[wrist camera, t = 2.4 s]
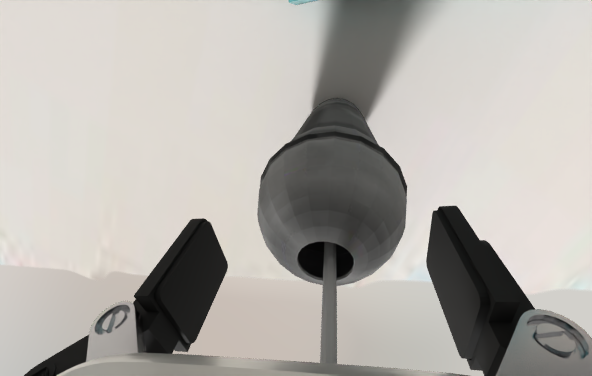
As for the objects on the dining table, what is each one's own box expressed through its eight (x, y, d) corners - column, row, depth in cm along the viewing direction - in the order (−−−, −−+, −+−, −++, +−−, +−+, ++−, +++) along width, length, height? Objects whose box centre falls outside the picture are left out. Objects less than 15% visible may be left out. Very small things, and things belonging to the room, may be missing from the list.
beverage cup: (370, 67, 20) (516, 315, 3) (385, 152, 23) (493, 486, 7) (282, 95, 22) (90, 333, 5) (308, 169, 25) (241, 454, 9)
